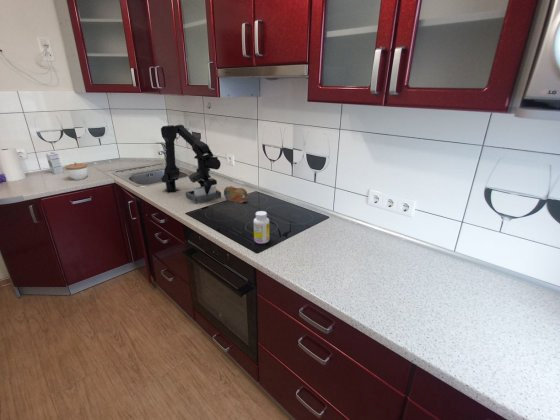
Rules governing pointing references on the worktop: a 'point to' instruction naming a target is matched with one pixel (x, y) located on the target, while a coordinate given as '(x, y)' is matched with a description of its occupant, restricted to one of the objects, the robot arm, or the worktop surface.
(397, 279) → the worktop surface
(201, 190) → the panel
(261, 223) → the supplement bottle
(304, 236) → the worktop surface
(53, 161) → the syrup box
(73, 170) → the lidded bowl
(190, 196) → the box
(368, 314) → the worktop surface
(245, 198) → the tin
